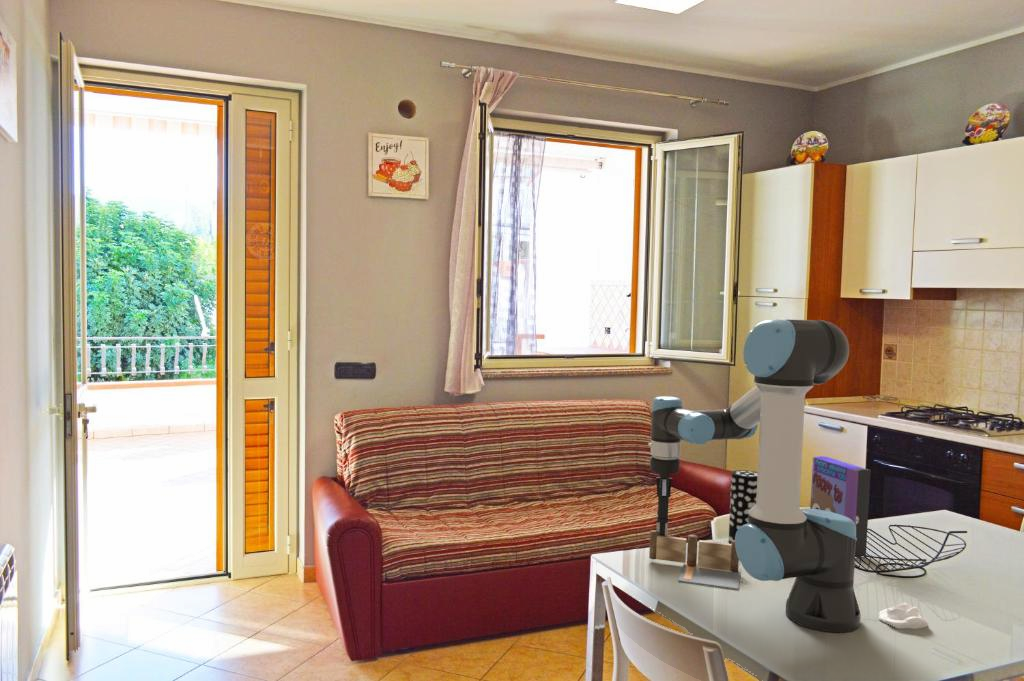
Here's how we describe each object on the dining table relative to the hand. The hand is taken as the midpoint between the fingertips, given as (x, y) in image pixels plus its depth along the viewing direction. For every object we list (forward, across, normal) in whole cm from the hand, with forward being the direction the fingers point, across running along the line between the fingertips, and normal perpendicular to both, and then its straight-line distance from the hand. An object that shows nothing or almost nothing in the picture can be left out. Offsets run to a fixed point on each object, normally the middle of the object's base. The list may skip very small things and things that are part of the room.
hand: (661, 546), depth 206 cm
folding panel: (+3, +2, +2) cm, 4 cm away
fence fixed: (+4, +4, +13) cm, 14 cm away
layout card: (+4, +8, +12) cm, 15 cm away
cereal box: (+4, -24, +48) cm, 54 cm away
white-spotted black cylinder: (+4, -21, +23) cm, 31 cm away
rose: (+4, +27, +51) cm, 58 cm away
